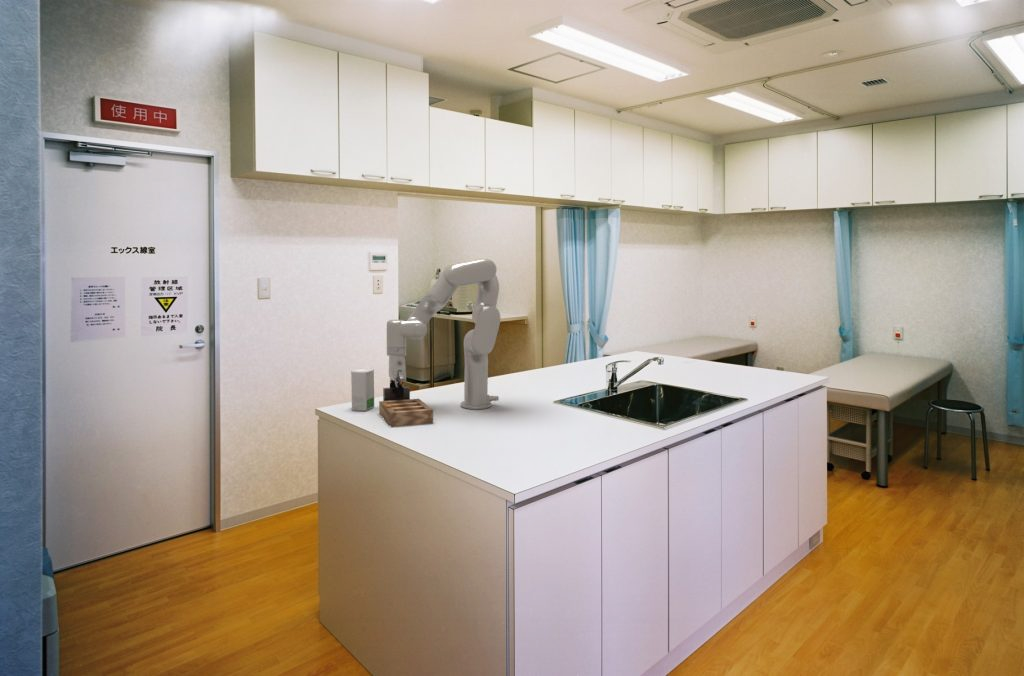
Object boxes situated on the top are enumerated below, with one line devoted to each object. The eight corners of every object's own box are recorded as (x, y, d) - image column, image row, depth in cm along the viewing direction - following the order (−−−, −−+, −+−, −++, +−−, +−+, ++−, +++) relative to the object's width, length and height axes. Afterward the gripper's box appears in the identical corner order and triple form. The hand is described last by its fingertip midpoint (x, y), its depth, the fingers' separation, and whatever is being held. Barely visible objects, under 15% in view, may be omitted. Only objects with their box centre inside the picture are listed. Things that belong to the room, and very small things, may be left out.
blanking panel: (408, 408, 245) (408, 386, 244) (409, 410, 242) (409, 387, 241) (383, 410, 241) (383, 388, 240) (384, 411, 238) (384, 389, 237)
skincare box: (366, 411, 238) (365, 372, 236) (350, 410, 239) (349, 371, 237) (375, 407, 246) (374, 368, 244) (359, 406, 247) (359, 368, 246)
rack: (418, 411, 240) (418, 397, 240) (433, 423, 222) (433, 408, 222) (379, 414, 234) (379, 399, 234) (390, 426, 216) (390, 411, 215)
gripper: (411, 354, 232) (411, 398, 234) (400, 348, 248) (400, 390, 250) (391, 354, 229) (392, 400, 231) (382, 348, 245) (382, 391, 247)
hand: (396, 394), depth 241 cm, fingers open, 8 cm apart
